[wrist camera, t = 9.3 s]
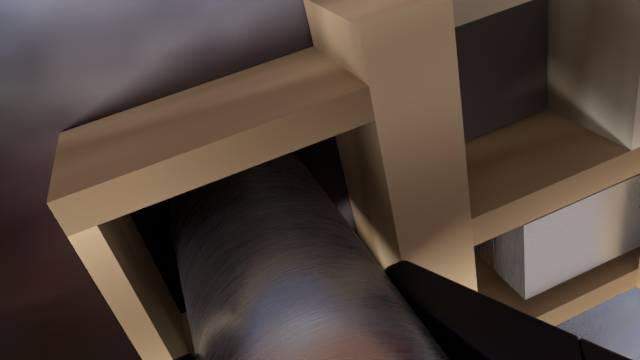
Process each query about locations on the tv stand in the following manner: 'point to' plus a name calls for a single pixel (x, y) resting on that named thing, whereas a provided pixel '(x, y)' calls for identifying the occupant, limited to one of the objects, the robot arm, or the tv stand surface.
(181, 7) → the tv stand surface
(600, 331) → the tv stand surface
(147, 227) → the tv stand surface
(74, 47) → the tv stand surface
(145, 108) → the socket block
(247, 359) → the cylinder
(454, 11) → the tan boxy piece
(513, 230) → the grey rectangular block
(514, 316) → the robot arm
